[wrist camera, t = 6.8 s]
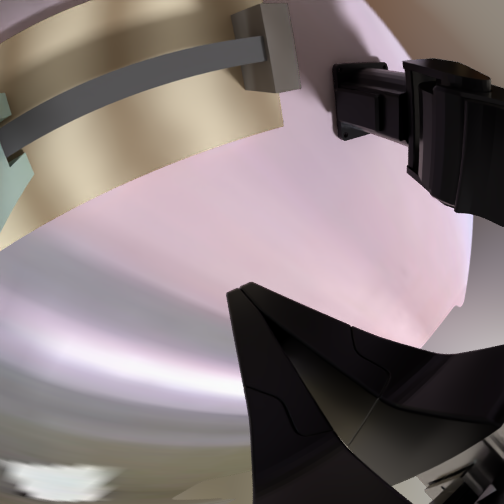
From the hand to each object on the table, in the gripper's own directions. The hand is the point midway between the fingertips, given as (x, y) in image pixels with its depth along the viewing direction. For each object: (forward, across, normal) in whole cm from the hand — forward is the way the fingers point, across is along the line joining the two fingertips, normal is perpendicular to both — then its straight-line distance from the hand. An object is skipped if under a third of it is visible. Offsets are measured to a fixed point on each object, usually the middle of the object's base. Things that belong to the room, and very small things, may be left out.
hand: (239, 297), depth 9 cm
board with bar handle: (+12, +7, -6) cm, 15 cm away
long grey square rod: (+9, +7, -6) cm, 13 cm away
